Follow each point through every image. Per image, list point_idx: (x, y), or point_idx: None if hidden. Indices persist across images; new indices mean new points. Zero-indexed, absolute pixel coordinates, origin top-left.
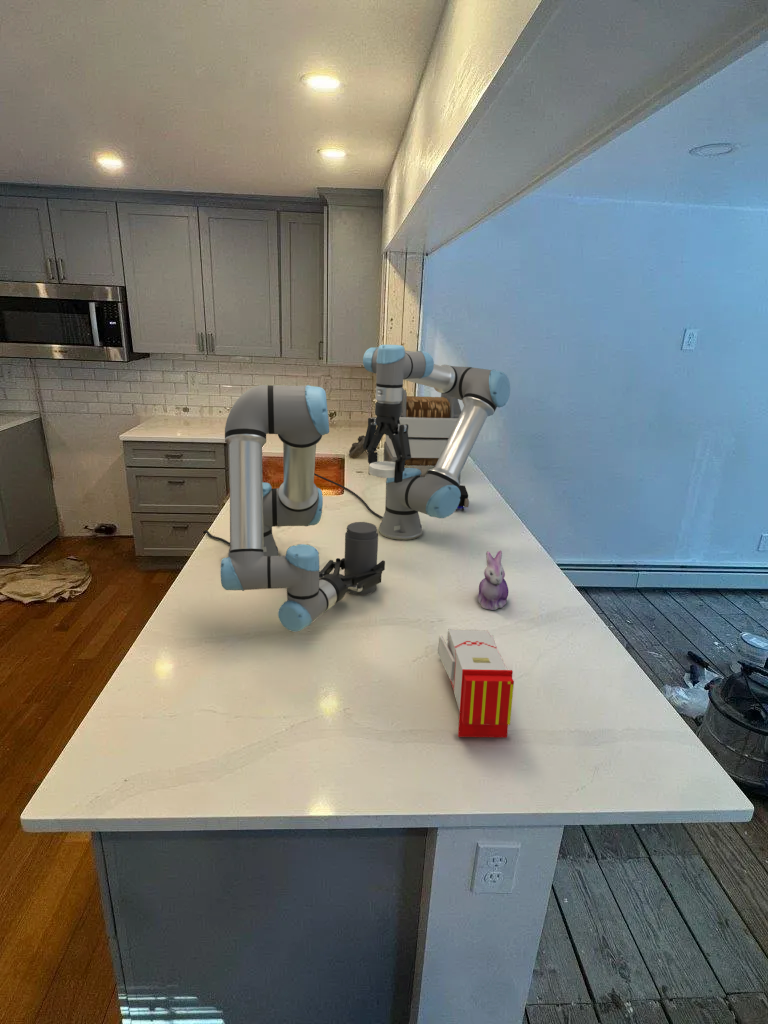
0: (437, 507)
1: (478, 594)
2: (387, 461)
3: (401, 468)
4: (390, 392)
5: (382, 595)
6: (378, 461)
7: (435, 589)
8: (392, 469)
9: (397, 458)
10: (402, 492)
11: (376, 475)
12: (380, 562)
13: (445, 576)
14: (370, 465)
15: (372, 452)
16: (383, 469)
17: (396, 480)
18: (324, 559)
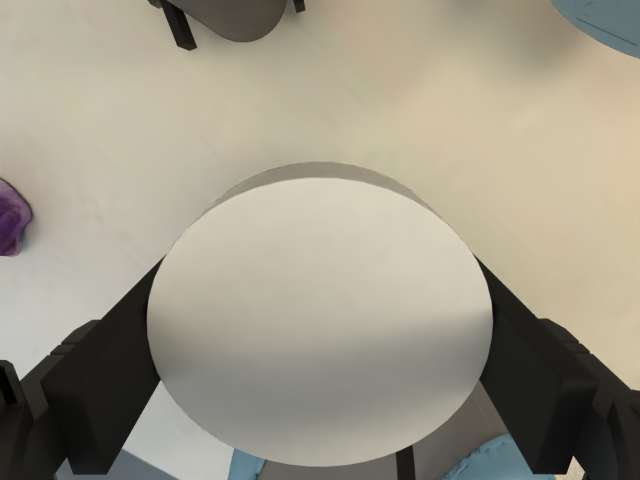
0: None
1: (15, 199)
2: (408, 443)
3: (60, 345)
4: None
5: None
6: (470, 390)
7: (114, 154)
8: (163, 299)
9: (18, 418)
10: None
11: (284, 166)
12: (175, 20)
13: (157, 230)
14: (430, 229)
15: (583, 430)
16: (214, 226)
17: (160, 264)
18: (456, 45)
